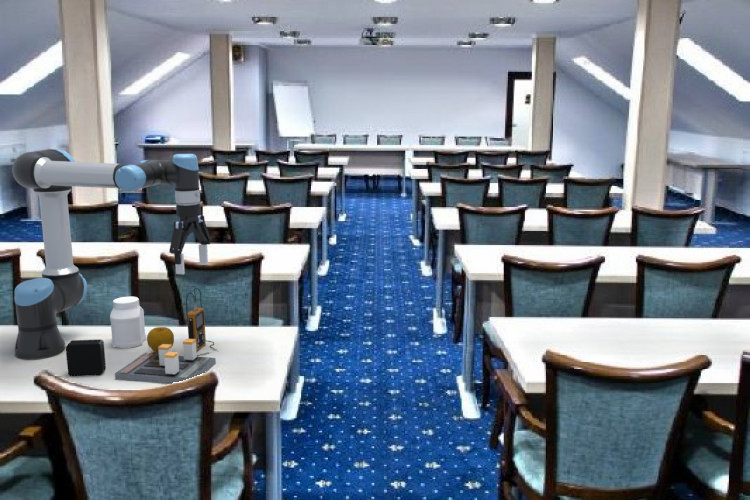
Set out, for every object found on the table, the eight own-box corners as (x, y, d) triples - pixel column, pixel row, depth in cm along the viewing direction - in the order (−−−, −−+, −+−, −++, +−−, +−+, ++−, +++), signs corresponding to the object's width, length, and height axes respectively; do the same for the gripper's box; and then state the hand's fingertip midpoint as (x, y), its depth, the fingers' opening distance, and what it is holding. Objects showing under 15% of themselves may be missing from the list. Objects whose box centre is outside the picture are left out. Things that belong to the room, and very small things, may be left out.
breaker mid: (159, 365, 230) (158, 347, 229) (164, 361, 233) (162, 343, 232) (168, 365, 230) (167, 347, 228) (173, 362, 232) (171, 344, 231)
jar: (139, 347, 253) (136, 304, 250) (110, 348, 252) (106, 305, 249) (147, 336, 264) (144, 294, 261) (119, 337, 263) (115, 295, 260)
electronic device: (72, 371, 232) (69, 340, 230) (106, 370, 233) (103, 339, 231) (68, 376, 228) (65, 345, 226) (102, 375, 229) (99, 343, 227)
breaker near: (165, 373, 224) (164, 354, 222) (169, 370, 226) (168, 351, 225) (174, 374, 223) (173, 355, 222) (179, 370, 226) (178, 352, 224)
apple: (142, 355, 246) (140, 329, 244) (162, 347, 253) (160, 322, 251) (161, 359, 241) (159, 333, 239) (180, 352, 248) (179, 326, 247)
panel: (115, 379, 226) (114, 372, 225) (145, 358, 243) (144, 351, 242) (190, 385, 221) (190, 378, 220) (215, 363, 238) (215, 357, 238)
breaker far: (183, 359, 235) (182, 341, 234) (187, 356, 238) (186, 338, 236) (192, 360, 234) (191, 342, 233) (196, 356, 237) (195, 339, 236)
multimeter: (213, 357, 243) (209, 297, 239) (184, 355, 245) (180, 295, 241) (230, 342, 257) (227, 285, 253) (203, 340, 259) (199, 284, 255)
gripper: (175, 210, 227) (180, 279, 232) (219, 198, 250) (222, 261, 255) (154, 209, 230) (159, 277, 234) (199, 197, 253) (203, 259, 257)
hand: (192, 269), depth 244 cm, fingers open, 13 cm apart
